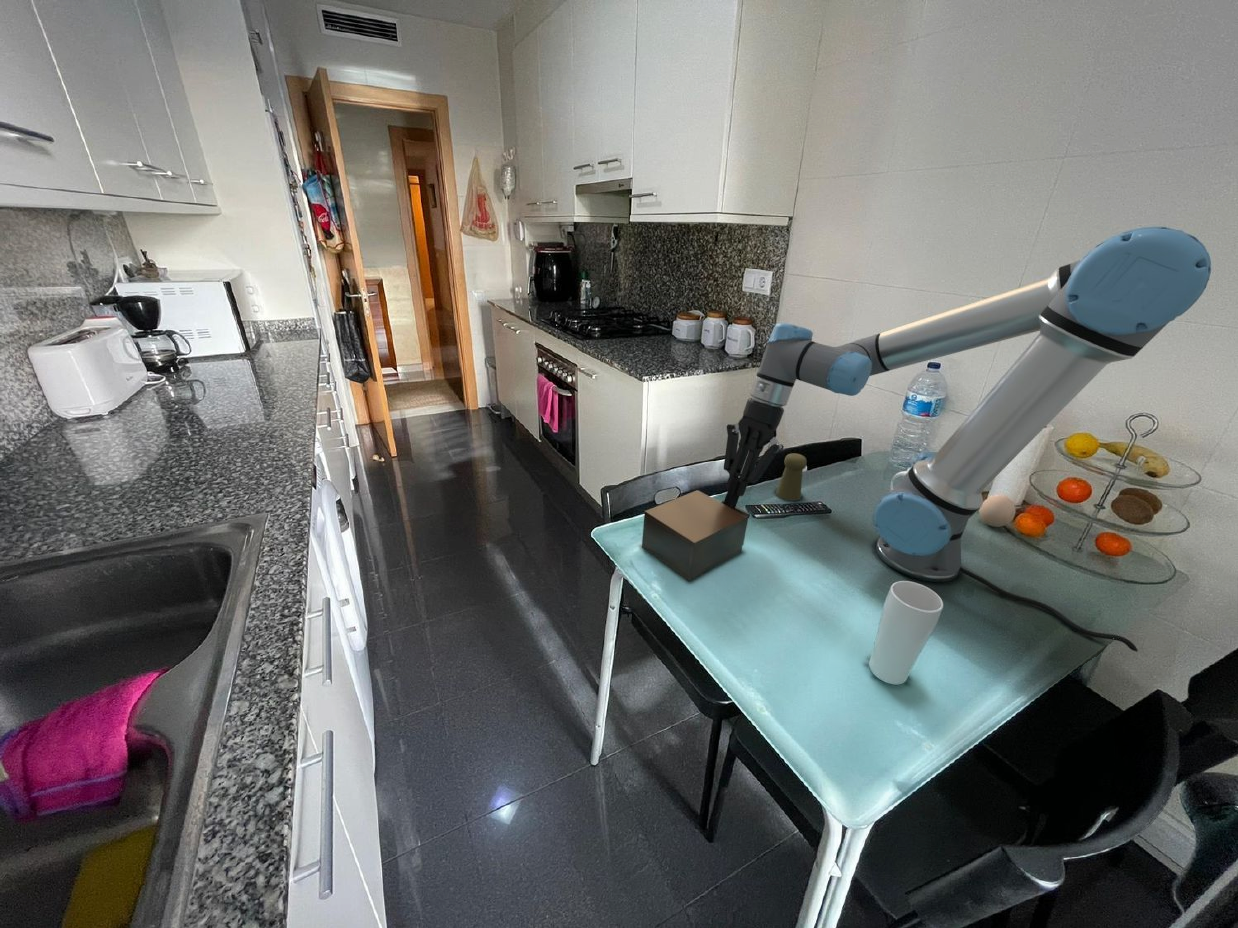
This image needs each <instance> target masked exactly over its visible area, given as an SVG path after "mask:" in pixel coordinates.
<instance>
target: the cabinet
mask: <svg viewBox="0 0 1238 928" xmlns="http://www.w3.org/2000/svg"><path fill="white" fill-rule="evenodd" d="M721 502H722V501H721ZM721 502H720V501H719V500H717V499H715V498H713V497H711V496H709V495H708V494H706V493H704V492H702V491H700V490H699V489H697V490H694V491H692V492H689V493H686V494H685V495H682V496H679V497H677V498H673V499H672V500H669V501H667V502H663V503H662V504H659V505H657V506H654V507H652V508H649V509H647V510H644V512H643V513H644V515H643V525H642V539H641V547H642V548H643V549H644V550H646V551H647V552H648V553H650V554H652V556H654V557H655V558H657V559H658V560H659V561H661V562H662V563H664V564H665V565H666V566H668V567H669V568H671V569H672V570H673V571H675V572H676V573H678V574H679V575H680V576H682V577H683V578H684V579H686V580H688V581H689V582H690V581H692V580H694V579H695V578H696V579H697V577H699V576H701V575H703V574H705V573H706V572H708V571H710V570H712V569H714V568H715V567H718V566H719V565H721V564H722V563H724V562H727V561H728V560H730V559H732V558H734V557H735V556H737V555H739V554H741V553H742V551H743V546H744V544H743V540H744V541H745V539H744V535H745V536H746V533H745V530H746V531H747V528H746V524H747V525H748V523H747V519H748V520H749V518H748V517H747V516H745V515H743V514H741V513H739V512H737V511H736V510H734V509H732V508H730V507H728V506H726V505H724V504H723V503H721Z"/></svg>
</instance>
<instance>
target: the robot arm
mask: <svg viewBox="0 0 1238 928" xmlns="http://www.w3.org/2000/svg"><path fill="white" fill-rule="evenodd" d="M1211 267H1212V260H1211V256H1210V253H1209V251H1208V249H1207V248H1206V246H1205V245H1204V244H1203V243H1202V242H1201V240H1199V239H1198V238H1197V237H1196V236H1194V235H1192V234H1190V233H1187V232H1185V231H1184V230H1182V229H1175V228H1169V227H1166V226H1147V227H1145V226H1144V227H1139V228H1134V229H1130V230H1128V231H1124V232H1121V233H1118V234H1116V235H1114V236H1111V237H1109V238H1108V239H1106V240H1104V241H1102V242H1101V243H1099V244H1097V245H1095V247H1094V248H1093V249H1090V251H1088V252H1087V253H1086V254H1085V255H1084V256H1083V257H1082V258H1081V259H1079V260H1076V261H1074V262H1071V263H1068V264H1065V265H1062V266H1059V267H1057V268H1055V270H1054V271H1053V272H1052V274H1051V275H1050V276H1049V277H1047V278H1044V279H1043V278H1042V279H1040V280H1038V281H1034V282H1031V283H1029V284H1025V285H1022V286H1019V287H1016V288H1013V289H1010V290H1007V291H1004V292H1001V293H998V294H994V295H992V296H989V297H986V298H982V299H980V300H977V301H974V302H971V303H968V304H967V303H966V304H965V305H960V306H959V307H955V308H952V309H950V310H946V311H943V312H940V313H937V314H934V315H931V316H928V317H925V318H921V319H918V320H916V321H913V322H911V323H907V324H903V325H899V326H897V327H894V328H891V329H888V330H886V331H882V332H880V333H876V334H872V335H869V336H866V337H863V338H860V339H859V338H858V339H857V340H854V341H851V342H849V343H844V344H841V345H838V346H832V345H826V344H824V343H823V344H822V343H819V342H816V341H814V340H813V335H814V332H813V330H811V329H809V328H806V327H802V326H799V325H795V324H791V323H787V322H778V323H776V324H775V325H774V326H773V329H772V332H771V334H770V336H769V338H768V341H766V347H765V349H764V352H763V356H762V359H761V362H760V365H759V368H758V371H757V373H756V376H755V378H754V381H753V384H752V386H751V390H750V393H749V395H750V396H751V397H749V398H748V399H747V400H746V403H745V406H744V410H743V411H742V417H741V418H740V419H739V420H738V422H737V423H734V424H733V423H732V424H727V425H726V433H727V440H726V446H725V454H724V460H723V461H724V462H723V470H724V471H726V472H727V473H728V474H729V475H728V478H727V482H726V484H725V490H726V491H727V492H726V494H725V498H724V499H723V500H724V503H723V504H724V505H726V506H728V507H730V508H735V507H737V504H738V502H739V498H740V497H743V496H744V495H745V492H746V490H747V487H748V485H749V484H751V483H758V482H759V481H760V480H761V478H762V477H763V475H764V473H765V472H766V471H767V469H768V467H770V464H771V463H772V461H773V460H774V458H775V457H776V455H777V454H779V453H780V452H781V451H783V450H784V448H785V447H784V444H782V443H780V442H779V441H778V439H777V436H778V434H777V429H778V427H779V426H780V423H781V421H782V418H783V415H784V413H785V408H783V407H785V406H787V405H788V403H789V401H790V400H789V399H790V397H791V393H792V391H793V388H794V386H795V383H796V381H797V380H798V381H800V382H804V383H807V384H810V385H813V386H815V387H818V388H821V389H825V390H828V391H830V392H832V393H833V394H841V395H845V396H849V397H853V396H857V395H859V393H861V391H862V390H863V389H864V388H865V386H866V384H867V383H868V380H869V379H870V377H871V376H876V375H879V374H882V373H886V372H890V371H893V370H897V369H900V368H905V367H907V366H908V367H909V366H912V365H915V364H919V363H923V362H927V361H931V360H935V359H939V358H942V357H946V356H949V355H953V354H958V353H961V352H965V351H968V350H972V349H976V348H979V347H983V346H984V347H985V346H987V345H991V344H995V343H998V342H1002V341H1006V340H1010V339H1013V338H1014V339H1015V338H1017V337H1021V336H1025V335H1030V334H1032V333H1036V332H1039V333H1038V334H1037V335H1036V337H1035V338H1034V339H1033V340H1032V341H1031V343H1030V344H1029V345H1028V346H1027V347H1026V348H1025V349H1024V351H1023V352H1022V353H1021V354H1020V355H1019V357H1018V358H1017V359H1015V361H1014V363H1013V364H1012V365H1011V366H1010V367H1009V368H1008V369H1007V371H1006V372H1005V373H1004V374H1003V375H1002V376H1001V377H1000V378H999V380H998V381H997V382H996V384H995V385H994V386H993V387H992V388H991V389H990V390H989V391H988V393H987V394H986V395H985V396H984V397H983V398H982V399H981V401H980V402H979V403H978V404H977V406H975V408H974V409H973V410H972V411H971V412H970V413H969V415H968V416H967V417H966V418H965V419H964V420H963V422H962V423H961V424H960V425H959V426H958V427H957V428H956V430H955V431H954V432H953V434H951V436H950V437H949V438H948V439H947V440H946V442H945V443H944V444H943V445H942V447H941V448H940V449H939V450H937V451H922V452H920V453H918V454H917V456H916V457H915V460H914V461H913V463H912V464H913V465H912V466H911V467H912V468H911V469H910V470H909V471H908V472H907V474H906V475H905V476H904V477H901V479H900V480H899V482H898V483H897V484H896V485H895V486H894V487H893V490H892V491H891V490H890V492H889V493H888V494H887V495H884V496H883V497H882V498H881V499H880V501H879V502H878V505H877V506H876V508H875V511H874V523H875V527H876V530H877V532H878V533H879V535H880V536H879V537H878V540H877V543H876V547H875V551H876V555H878V557H879V558H880V560H882V562H884V563H885V564H886V565H887V566H889V567H890V568H892V569H893V570H895V571H897V572H899V573H901V574H902V575H905V576H908V577H910V578H913V579H917V580H920V581H925V582H930V583H947V582H951V581H954V580H955V579H956V578H957V577H958V575H959V574H960V573H962V574H964V575H966V576H968V577H970V578H972V579H974V580H976V581H978V582H979V583H981V584H983V585H985V586H986V587H988V588H989V589H992V590H993V591H995V592H997V593H998V594H1000V595H1003V596H1005V597H1008V598H1010V599H1013V600H1015V601H1019V602H1023V603H1027V604H1031V605H1033V606H1036V607H1039V608H1041V609H1044V610H1045V611H1047V612H1049V613H1050V614H1052V615H1054V616H1055V617H1057V619H1059V620H1061V621H1062V622H1063V623H1064V624H1066V625H1067V626H1069V627H1070V628H1072V629H1073V630H1075V631H1077V632H1079V633H1081V634H1083V635H1086V636H1089V637H1092V638H1097V639H1104V640H1113V641H1117V642H1121V643H1123V644H1124V645H1126V646H1127V648H1129V650H1132V651H1134V652H1139V651H1138V648H1137V646H1136V645H1135V644H1134V643H1133V642H1132V641H1131V640H1130V639H1128V638H1126V637H1124V636H1122V635H1117V634H1112V633H1105V632H1096V631H1092V630H1089V629H1086V628H1084V627H1082V626H1080V625H1077V624H1076V623H1074V622H1073V621H1072V620H1070V619H1069V618H1068V617H1066V616H1065V615H1064V614H1062V613H1061V612H1060V611H1058V610H1056V608H1054V607H1051V606H1049V605H1048V604H1046V603H1044V602H1042V601H1038V600H1036V599H1032V598H1028V597H1026V596H1025V597H1024V596H1021V595H1018V594H1015V593H1011V592H1009V591H1007V590H1004V589H1003V588H1000V587H999V586H997V585H996V584H993V583H992V582H990V581H988V580H987V579H985V578H983V577H981V576H979V575H977V574H975V573H973V572H971V571H969V570H967V569H965V568H963V567H962V542H961V541H962V536H963V534H964V531H965V529H966V527H967V524H968V521H969V519H971V518H972V517H973V515H974V514H975V513H977V511H979V509H980V507H981V506H982V505H983V502H984V498H983V495H982V491H984V489H985V488H986V487H987V486H988V485H989V484H991V482H992V481H993V480H994V479H995V478H996V477H998V475H999V474H1000V473H1002V471H1003V470H1005V468H1006V467H1007V466H1008V465H1009V464H1010V463H1011V462H1012V461H1014V459H1015V458H1016V457H1017V456H1018V455H1019V454H1020V453H1021V452H1022V451H1023V450H1024V449H1025V448H1026V447H1027V446H1028V445H1029V444H1030V443H1031V442H1032V441H1033V440H1034V439H1035V438H1036V437H1037V436H1038V435H1039V434H1040V433H1041V432H1042V431H1043V430H1044V429H1045V428H1046V427H1047V426H1048V425H1049V424H1050V423H1051V422H1052V421H1053V420H1054V419H1055V418H1056V417H1057V416H1058V415H1059V414H1060V413H1061V412H1062V411H1063V410H1064V409H1065V408H1066V406H1068V404H1070V402H1071V401H1072V400H1073V399H1074V398H1076V397H1077V396H1078V395H1079V394H1080V392H1081V391H1083V390H1084V388H1086V387H1087V385H1088V384H1090V382H1091V381H1092V380H1093V379H1095V377H1096V376H1097V375H1098V374H1100V372H1101V371H1103V370H1104V369H1105V367H1106V366H1108V365H1109V364H1111V363H1115V362H1121V361H1125V360H1130V359H1133V358H1134V357H1135V356H1136V355H1137V354H1138V353H1140V351H1142V349H1143V348H1145V346H1146V345H1147V344H1149V343H1150V342H1151V340H1153V339H1154V338H1155V337H1156V336H1157V335H1158V334H1159V333H1160V332H1161V331H1162V330H1163V329H1164V328H1165V327H1166V326H1167V325H1168V324H1169V323H1171V322H1173V321H1174V320H1176V318H1178V317H1180V316H1183V314H1185V313H1186V312H1187V311H1188V310H1189V309H1191V308H1192V307H1193V305H1194V304H1195V303H1196V302H1197V301H1198V300H1200V297H1202V295H1203V294H1204V292H1205V290H1206V288H1207V286H1208V283H1209V281H1210V277H1211V273H1212V268H1211ZM739 437H740V438H739ZM765 446H767V449H766V450H765V451H764V453H763V454H762V455H761V458H760V459H759V457H760V454H761V453H762V452H763V450H764V447H765ZM1113 638H1114V639H1113Z"/></svg>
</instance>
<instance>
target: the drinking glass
mask: <svg viewBox="0 0 1238 928" xmlns="http://www.w3.org/2000/svg"><path fill="white" fill-rule="evenodd" d="M943 609H944V602H943V600H942V598H941V597H940V595H939V594H938V593H937V592H935V591H934V590H933V589H931V588H930V587H927V586H926V585H924V584H921V583H918V582H914V581H910V580H899V581H895V582H894V583H891V586H890V588H889V590H888V592H887V594H886V598H885V600H884V602H883V607H882V609H881V612H880V618H879V622H878V625H877V630H876V635H875V639H874V640H875V641H874V644H873V647H872V652H871V655H870V657H869V661H868V665H869V669H870V671H871V672H872V674H873V675H874V676H875V677H876V678H877V679H879V681H880V680H881V681H882V682H884V683H886V684H889V685H895V686H896V685H897V686H899V685H902V684H904V683H906V681H907V680H908V677H909V675H910V673H911V671H912V669H913V668H914V665H915V664H916V662H917V661H918V659H919V657H920V655H921V654H922V652H923V650H924V648H925V647H926V645H927V644H928V643H929V640H930V638H931V637H932V635H933V633H934V631H935V629H936V627H937V625H938V623H939V620H940V617H941V614H942V611H943Z"/></svg>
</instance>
